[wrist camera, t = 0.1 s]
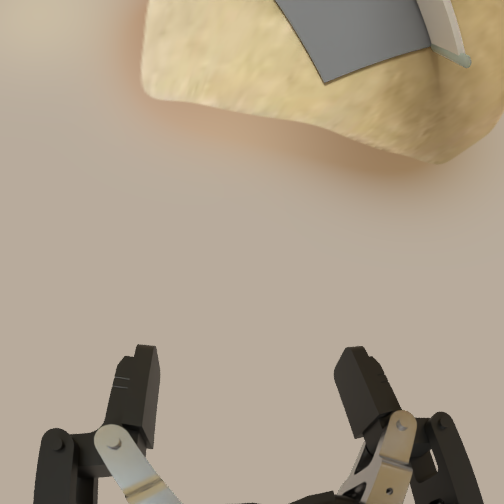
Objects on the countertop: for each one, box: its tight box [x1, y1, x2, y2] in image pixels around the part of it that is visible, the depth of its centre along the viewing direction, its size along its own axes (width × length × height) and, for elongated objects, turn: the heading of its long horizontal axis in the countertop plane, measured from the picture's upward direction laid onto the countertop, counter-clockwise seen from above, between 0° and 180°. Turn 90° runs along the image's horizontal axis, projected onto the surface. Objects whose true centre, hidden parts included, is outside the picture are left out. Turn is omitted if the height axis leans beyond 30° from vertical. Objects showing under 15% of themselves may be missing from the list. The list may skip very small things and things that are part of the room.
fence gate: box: [416, 0, 471, 68], centre depth 17 cm, size 13×2×7 cm, turn 31°
